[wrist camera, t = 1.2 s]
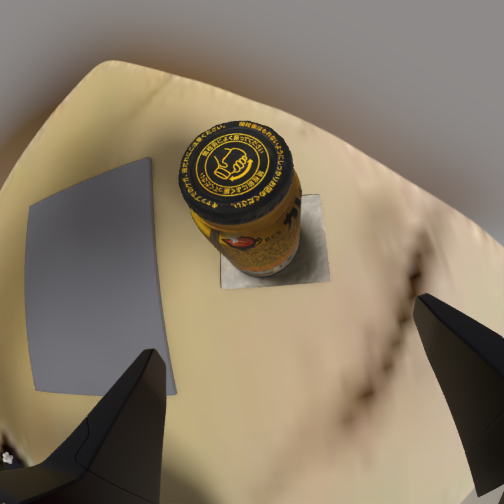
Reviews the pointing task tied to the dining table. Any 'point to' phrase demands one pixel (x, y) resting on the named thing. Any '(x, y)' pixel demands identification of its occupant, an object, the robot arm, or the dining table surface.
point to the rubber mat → (94, 283)
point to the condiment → (254, 207)
